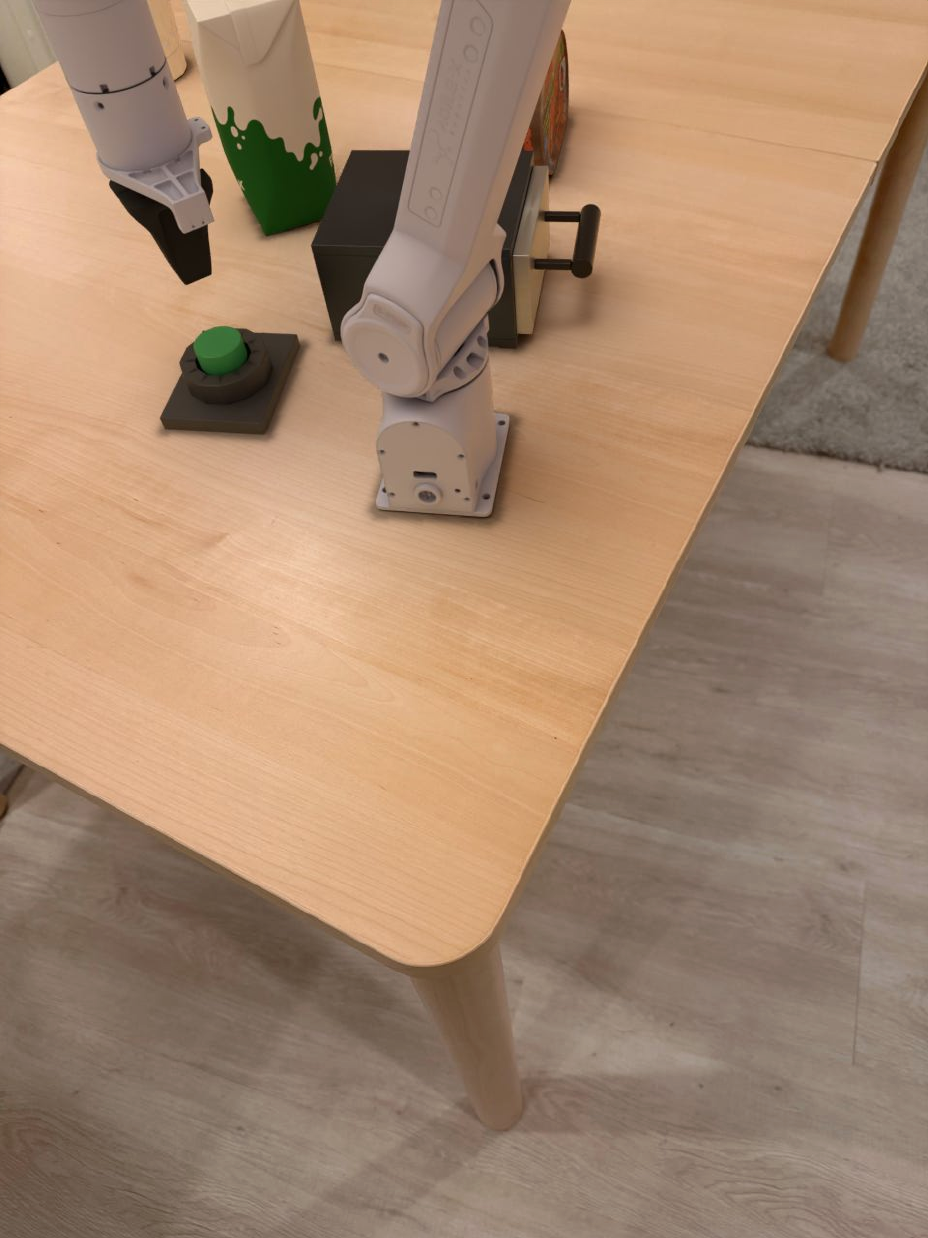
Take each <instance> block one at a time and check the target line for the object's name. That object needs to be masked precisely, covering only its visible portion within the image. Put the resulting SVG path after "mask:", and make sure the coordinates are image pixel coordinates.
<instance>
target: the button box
mask: <svg viewBox="0 0 928 1238" xmlns="http://www.w3.org/2000/svg"><path fill="white" fill-rule="evenodd" d="M234 328H235V329H236V330H238V331H239V333H240V334H241V337H242V339H243V342H244V345H245V348H246V351H247V355H248V356H247V360H246V362H245V364H244V365H243V366H241V367H240V368H239V369H237V370H236V371H234V372H231V373H228V374H224V375H210V374H208V373H206V372H205V371H203V369H202V368H201V365H200V363H199V361H198V358H197V356H196V353H195V351H194V342H195V340H194V341H193V342H191V343H190V344H189V345H188V346H187V347H186V348H185V350H184V352H183V354H182V356H181V357H180V360H179V362H178V363H179V368H180V371H181V374H180V375H179V378H178V380H177V381H176V383H175V385H174V388H173V390H172V392H171V394H170V396H169V398H168V400H167V402H166V404H165V406H164V408H163V411H162V412H161V414H160V416H159V421H161V422H160V423H161V424H162V426H163V428H164V430H176V431H192V432H206V433H207V432H209V433H225V434H226V433H227V434H240V435H241V434H242V435H243V434H245V435H259V436H265V435H266V432H267V431H268V427H269V425H270V423H271V419H272V417H273V415H274V412H275V410H276V408H277V406H278V402H279V400H280V397H281V395H282V392H283V390H284V388H285V385H286V382H287V380H288V377H289V375H290V372H291V370H292V368H293V365H294V362H295V360H296V358H297V355H298V352H299V350H300V347H301V342H300V341H299V337H298V334H297V333H282V332H281V333H280V332H279V333H277V332H276V333H275V332H254V331H252V330H250V329H248V328H243V327H242V328H241V327H240V328H239V327H234ZM204 331H205V330H202V331H201V333H203V332H204Z"/></svg>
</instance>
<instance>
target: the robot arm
mask: <svg viewBox="0 0 928 1238" xmlns="http://www.w3.org/2000/svg"><path fill="white" fill-rule="evenodd" d="M31 1H32V4H33V5H34V8H35V10H36V13H37V15H38V17H39V20H40V22H41V25H42V26H43V29H44V31H45V34H46V36H47V38H48V40H49V43H50V45H51V47H52V51H53V53H54V55H55V57H56V59H57V62H58V64H59V66H60V69H61V71H62V73H63V75H64V77H65V80H66V83H67V85H68V87H69V90H70V92H71V94H72V97H73V99H74V101H75V103H76V106H77V108H78V111H79V113H80V115H81V117H82V120H83V122H84V124H85V127H86V130H87V131H88V134H89V137H90V138H91V142H92V143H93V146H94V148H95V150H96V152H95V153H96V154H95V156H96V161H97V163H98V166H99V168H100V170H101V172H102V174H103V175H104V176H105V177H106V178H107V179H109V182H108V186H109V189H111V191H112V192H113V194H114V195H115V196H116V198H117V199H118V201H119V202H120V203H121V205H122V207H123V208H124V209H125V211H126V212H127V213H128V214H129V215H130V217H132V218H133V220H135V221H136V222H137V223H138V224H139V225H141V226H142V227H143V228H144V229H145V230H146V231H147V232H148V233H149V234H150V236H151V238H152V239H153V240H154V242H155V243H156V246H157V247H158V248H159V250H160V252H161V253H162V256H163V257H164V258H165V260H166V261H167V263H168V264H169V266H170V268H171V269H172V270H173V272H174V273H175V275H177V277H178V278H179V280H181V282H182V283H183V284H184V286H189V285H191V284H193V283H196V282H198V281H200V280H202V279H205V278H208V277H210V276H212V274H213V267H212V266H213V265H212V253H211V245H210V238H209V224H212V223H214V222H215V218H214V215H213V211H212V208H211V202H212V199H213V194H214V184H213V180H212V178H211V176H210V175H209V173H208V172H207V171H206V170H205V169H204V168H201V162H200V160H201V159H200V146H202V145H203V144H205V143H208V142H209V141H211V140H212V139H213V137H214V136H213V133H212V129H211V126H210V125H209V124H208V123H207V121H205V119H204V118H202V117H200V116H195V117H190V118H189V119H188V118H187V116H186V113H185V110H184V106H183V104H182V103H183V102H182V100H181V97H180V95H179V92H178V89H177V85H176V82H175V80H174V79H173V76H172V74H171V71H170V68H169V65H168V62H167V59H166V56H165V53H164V50H163V47H162V44H161V41H160V38H159V35H158V32H157V29H156V26H155V23H154V20H153V17H152V14H151V11H150V9H149V6H148V3H147V0H31ZM571 3H572V0H440V6H439V9H438V15H437V19H436V25H435V29H434V34H433V40H432V44H431V48H430V53H429V57H428V63H427V67H426V73H425V77H424V82H423V87H422V90H421V95H420V101H419V105H418V111H417V116H416V121H415V125H414V131H413V134H412V140H411V145H410V149H409V150H410V153H409V158H408V163H407V168H406V172H405V177H404V182H403V187H402V192H401V196H400V201H399V206H398V211H397V216H396V220H395V225H394V229H393V231H392V233H391V235H390V237H389V239H388V241H387V243H386V245H385V246H384V248H383V250H382V252H381V254H380V256H379V257H378V259H377V261H376V263H375V265H374V266H373V268H372V270H371V272H370V274H369V276H368V278H367V280H366V282H365V284H364V289H363V294H362V298H361V300H360V302H359V303H358V304H356V305H355V306H354V307H353V308H352V309H350V310H349V311H348V312H347V314H346V315H345V316H344V318H343V321H342V323H341V339H342V341H341V343H342V346H343V348H344V352H345V353H346V355H347V357H348V359H349V361H350V363H351V364H352V366H353V367H354V369H355V370H356V371H357V372H358V373H359V375H361V376H362V378H364V380H366V381H367V382H368V383H369V384H371V385H372V386H373V387H375V388H376V389H378V390H380V393H381V402H382V406H381V407H382V410H381V417H380V423H379V427H378V431H377V433H376V438H375V451H376V456H377V460H378V463H379V469H380V472H381V476H382V479H381V482H380V485H379V488H378V492H377V495H376V499H375V505H376V508H377V509H378V510H380V511H381V510H383V511H395V512H407V513H408V512H409V513H424V514H437V515H449V516H450V515H451V516H466V517H481V518H486V517H489V516H490V515H491V514H492V512H493V506H494V503H495V497H496V492H497V487H498V484H499V483H498V482H499V478H500V477H499V476H500V472H501V467H502V463H503V457H504V452H505V448H506V443H507V437H508V433H509V429H510V423H511V419H510V416H509V414H507V413H500V412H495V406H494V395H493V393H494V392H493V385H492V383H493V382H492V372H491V361H490V360H491V359H490V351H489V347H488V339H487V332H488V331H489V321H488V313H487V312H488V311H490V310H491V309H492V307H493V306H494V305H495V304H496V303H497V302H498V301H499V299H500V298H501V295H502V292H503V288H504V275H503V270H502V264H501V251H502V247H503V244H504V241H505V238H506V232H505V231H504V230H503V229H502V228H501V227H500V226H499V225H498V224H497V221H498V218H499V215H500V212H501V209H502V206H503V203H504V200H505V197H506V194H507V191H508V188H509V185H510V182H511V179H512V176H513V173H514V170H515V167H516V164H517V161H518V158H519V155H520V152H521V149H522V146H523V143H524V140H525V137H526V134H527V131H528V128H529V125H530V122H531V119H532V116H533V113H534V110H535V107H536V104H537V101H538V98H539V95H540V92H541V89H542V86H543V83H544V81H545V78H546V75H547V72H548V69H549V66H550V63H551V60H552V57H553V54H554V51H555V48H556V45H557V42H558V39H559V36H560V33H561V30H563V27H564V24H565V20H566V18H567V15H568V11H569V9H570V6H571Z"/></svg>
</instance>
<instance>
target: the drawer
mask: <svg viewBox="0 0 928 1238" xmlns="http://www.w3.org/2000/svg"><path fill="white" fill-rule="evenodd" d="M549 177H550V175H549V173H548V166H533V168H532V173H531V177H530V181H529V186H528V190H527V194H526V199H525V203H524V207H523V212H522V216H521V220H520V225H519V229H518V230H517V234H516V238H515V243H514V247H513V251H512V259H513V276H514V294H515V311H516V329H517V334H519V335H533V332H534V327H535V322H536V317H537V312H538V307H539V302H540V297H541V291H542V286H543V280H544V275H545V272H546V271H570V272H571V274H572V275H573V276H574V277H575V278H577V279H586V278H588V277H590V276H591V275H592V273H593V270H594V265H595V264H594V263H595V256H596V252H597V251H596V250H597V243H598V237H599V230H600V225H601V217H602V210H601V209H600V207H599V206H597V204H593V203H588V204H586V205H584V206H583V207H582V208H581V210H580V211H579V210H578V211H576V210H550V184H549V183H550V182H549V181H550V180H549V179H550V178H549ZM550 223H578V224H577V229H576V236H575V240H574V247H573V251H572V257H571V258H548V256H549V251H550V247H551V246H550V245H551V232H550V231H551V230H550Z"/></svg>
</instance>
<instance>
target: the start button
mask: <svg viewBox="0 0 928 1238" xmlns="http://www.w3.org/2000/svg"><path fill="white" fill-rule="evenodd" d="M235 328H236V327H232V326H228V325H218V326H213V327H211V328H208V329H205V330H203V331H204V332H203V333H202V332H201V333H200V334H199V335H197V337H196V338H195V340H194V341H195V342H194V341H193V342H194V351H195V353H196V356H197V358H198V361H199V363H200V365H201V368H202V369H203V371H205V372H206V373H208V374H210V375H224V374H228V373H231V372H234V371H236V370H237V369H239V368H240V367H241V366H243V365H244V364H245V362H246V360H247V356H248V355H247V351H246V348H245V345H244V342H243V339H242V337H241V334H240V333H239V331H238V330H236V329H235Z"/></svg>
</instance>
